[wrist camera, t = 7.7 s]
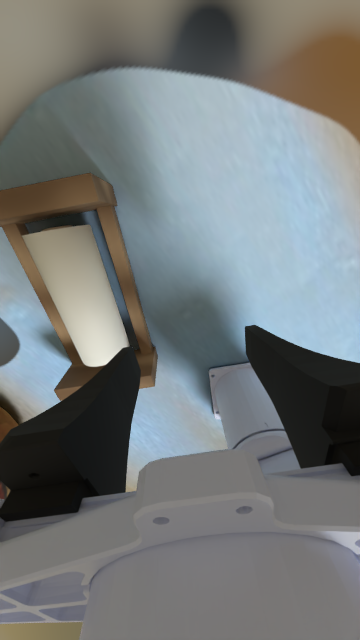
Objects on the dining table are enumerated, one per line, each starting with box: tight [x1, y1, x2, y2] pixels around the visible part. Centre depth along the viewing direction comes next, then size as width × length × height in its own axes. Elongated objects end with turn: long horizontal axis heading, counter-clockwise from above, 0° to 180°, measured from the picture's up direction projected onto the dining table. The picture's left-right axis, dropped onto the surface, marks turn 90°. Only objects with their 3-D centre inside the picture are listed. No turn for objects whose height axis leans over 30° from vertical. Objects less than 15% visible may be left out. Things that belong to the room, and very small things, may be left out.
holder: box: [0, 173, 158, 401], centre depth 19 cm, size 18×10×5 cm, turn 9°
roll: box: [22, 225, 130, 367], centre depth 19 cm, size 12×5×5 cm
